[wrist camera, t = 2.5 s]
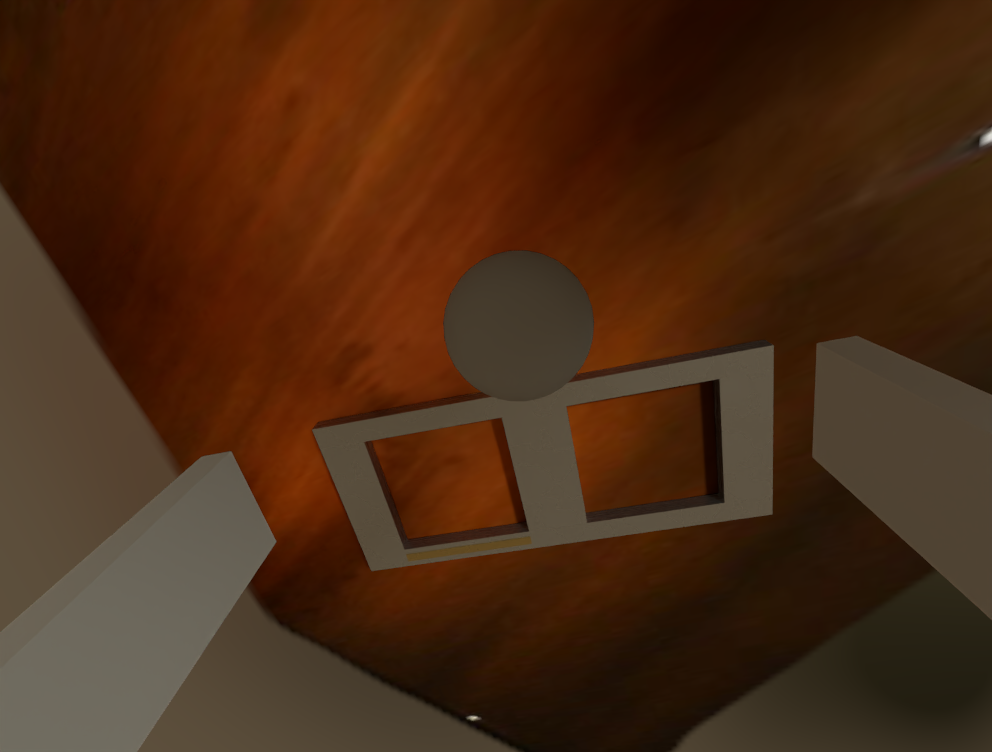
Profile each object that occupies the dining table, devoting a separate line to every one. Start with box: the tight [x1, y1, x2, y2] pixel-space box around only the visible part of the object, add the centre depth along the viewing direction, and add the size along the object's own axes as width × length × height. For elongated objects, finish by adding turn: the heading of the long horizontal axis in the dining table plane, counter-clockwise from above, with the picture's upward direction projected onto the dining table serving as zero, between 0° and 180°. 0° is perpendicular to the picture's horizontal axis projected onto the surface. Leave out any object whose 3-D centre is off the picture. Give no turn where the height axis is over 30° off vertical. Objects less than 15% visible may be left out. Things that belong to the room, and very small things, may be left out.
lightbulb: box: [443, 251, 594, 401], centre depth 21 cm, size 6×6×11 cm
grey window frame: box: [312, 340, 774, 571], centre depth 30 cm, size 12×28×1 cm, turn 102°
